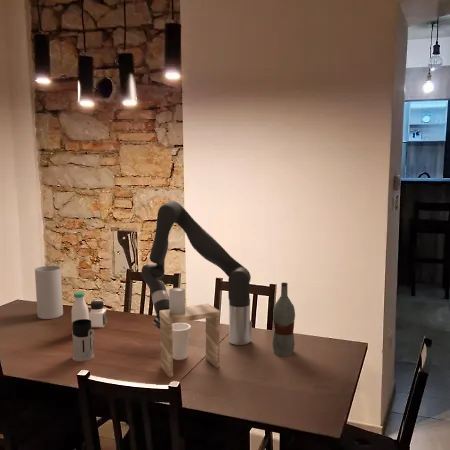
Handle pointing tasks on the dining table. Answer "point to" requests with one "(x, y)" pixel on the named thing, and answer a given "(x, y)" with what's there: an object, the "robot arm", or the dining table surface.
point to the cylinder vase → (49, 292)
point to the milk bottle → (79, 308)
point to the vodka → (283, 324)
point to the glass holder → (82, 340)
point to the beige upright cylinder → (177, 301)
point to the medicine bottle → (97, 314)
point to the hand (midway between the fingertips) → (171, 337)
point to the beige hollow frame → (190, 315)
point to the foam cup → (180, 340)
